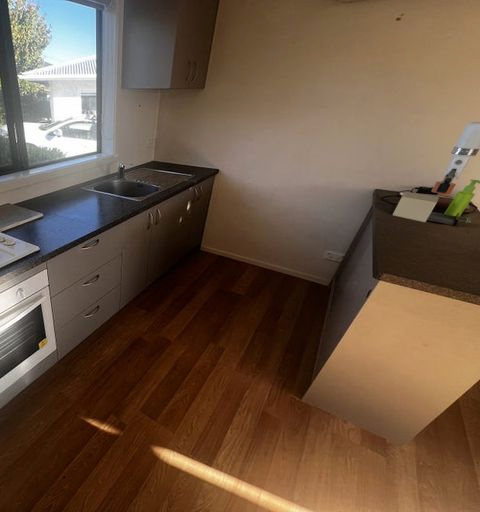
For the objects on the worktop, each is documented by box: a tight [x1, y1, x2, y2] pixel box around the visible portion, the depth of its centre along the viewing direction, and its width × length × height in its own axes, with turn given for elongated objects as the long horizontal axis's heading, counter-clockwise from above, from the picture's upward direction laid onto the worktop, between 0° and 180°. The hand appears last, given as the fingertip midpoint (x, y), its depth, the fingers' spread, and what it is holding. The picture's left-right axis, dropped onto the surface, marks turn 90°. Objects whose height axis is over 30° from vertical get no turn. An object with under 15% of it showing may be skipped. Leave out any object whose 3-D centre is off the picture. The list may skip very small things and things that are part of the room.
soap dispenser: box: [443, 179, 480, 217], centre depth 153 cm, size 6×7×20 cm
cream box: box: [392, 191, 440, 223], centre depth 156 cm, size 13×14×11 cm
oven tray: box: [426, 211, 472, 227], centre depth 149 cm, size 16×14×3 cm
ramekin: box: [431, 180, 457, 195], centre depth 139 cm, size 6×6×5 cm
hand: (441, 190), depth 140 cm, fingers closed on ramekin, 6 cm apart
